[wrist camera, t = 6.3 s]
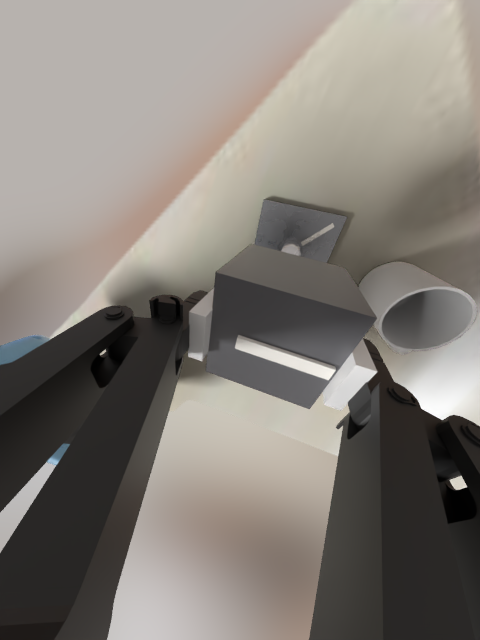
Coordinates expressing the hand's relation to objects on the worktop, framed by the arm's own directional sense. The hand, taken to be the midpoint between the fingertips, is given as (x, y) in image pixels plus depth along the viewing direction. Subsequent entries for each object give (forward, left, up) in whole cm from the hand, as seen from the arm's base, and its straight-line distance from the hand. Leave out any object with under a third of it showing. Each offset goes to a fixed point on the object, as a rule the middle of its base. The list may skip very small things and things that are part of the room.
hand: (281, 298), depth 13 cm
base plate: (0, 0, -15) cm, 15 cm away
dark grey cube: (0, 0, 0) cm, 0 cm away
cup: (+14, -3, -16) cm, 21 cm away
